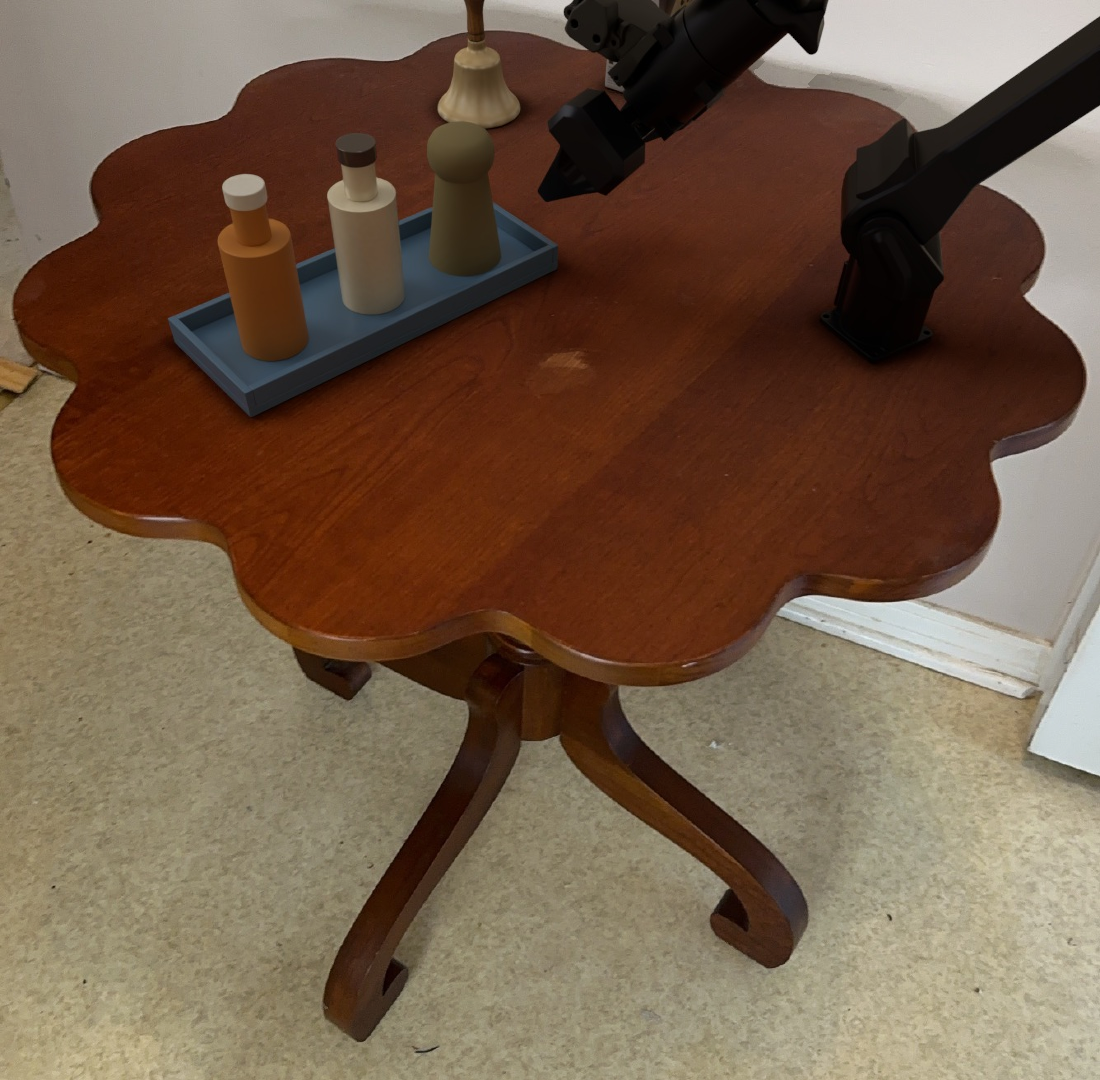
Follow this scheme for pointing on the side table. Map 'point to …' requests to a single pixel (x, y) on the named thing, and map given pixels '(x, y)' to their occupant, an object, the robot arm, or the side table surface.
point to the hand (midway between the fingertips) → (571, 173)
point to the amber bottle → (261, 274)
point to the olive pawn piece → (462, 200)
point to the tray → (356, 314)
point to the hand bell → (478, 80)
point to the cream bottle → (365, 230)
